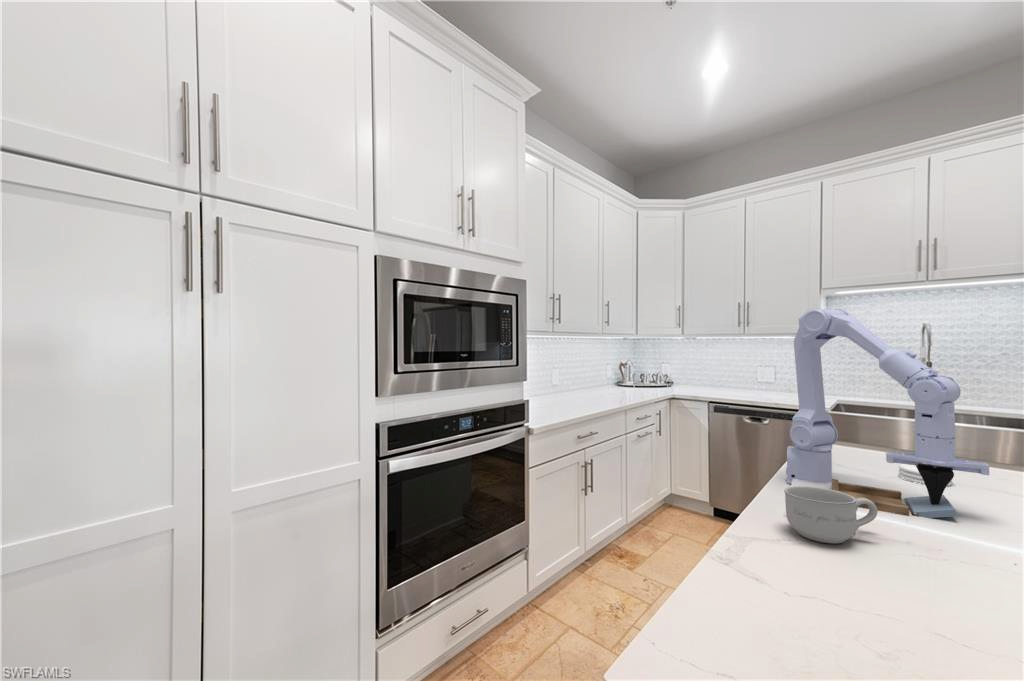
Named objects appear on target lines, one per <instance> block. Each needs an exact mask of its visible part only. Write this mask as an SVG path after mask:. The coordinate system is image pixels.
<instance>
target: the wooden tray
mask: <svg viewBox="0 0 1024 681" xmlns="http://www.w3.org/2000/svg"><path fill="white" fill-rule="evenodd" d="M831 490H835V491H840V492H843V493H846V494H849V495H851V496H853V497H854V498H855V499H857V498H866V499H868V500H870V501H872V502H873V503H874V504H875V506H876V508H877V512H885V513H889V514H890V513H891V514H894V515H901V516H907V517H910V511H909V507H908V506H907V505H904V502H903V501H902V492H901V491H900V490H895V489H886V488H880V487H875V486H868V485H862V484H854V483H850V482H849V483H847V482H842V481H841V482H840V481H839V479H834V478H832V482H831ZM858 508H861V509H866V510H869V507H868V505H867V504H861V505H860V506H858Z"/></svg>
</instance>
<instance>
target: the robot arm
mask: <svg viewBox="0 0 1024 681" xmlns="http://www.w3.org/2000/svg"><path fill="white" fill-rule="evenodd" d="M798 325H799V326H798V329H797V332H796V335H794V336H795V337H794V339H793V349H794V350H793V351H794V361H795V362H794V363H795V364H794V365H795V374H796V385H797V386H796V387H797V397H798V411H796V413H795V414H794V415H793V416H792V424H791V427H790V430H789V436H790V441H792V443H793V444H794V445H795V446H793V445H792V446H791V445H788V446H787V448H786V467H785V474H786V479H787V480H786V483H787V484H790V485H792V483H793V479H796V480H801V481H807V482H811V483H819V484H828V483H829V484H831V483H832V479H833V472H832V470H833V468H832V467H833V457H832V456H833V454H832V450H833V445H834V444H836V442H837V441H838V438H839V433H838V430H837V428H836V427H835V425H834V421H833V417H832V416H831V414H830V413H829V412H828V411H827V410H826V403H825V402H826V401H825V398H826V397H825V390H824V389H825V388H824V377H823V366H822V365H823V363H822V356H821V354H822V353H821V348H822V347H823V346H824V345H825V344H827V343H828V342H829V341H830V340H832V339H834V338H836V337H840V338H841V337H842V338H847V339H848V340H850V341H852V343H854V344H855V345H857V346H858V347H860V348H861V349H863V351H866V352H867V353H868V354H869V355H871V356H873V357H875V358H876V359H877V360H878V367H879V368H880V370H881V371H883V372H884V373H885V374H887V375H888V376H889V377H891V379H893V380H894V381H896V382H897V383H898V384H899V385H900V386H902V387H903V388H904V389H906V390H907V394H908V396H909V398H910V399H911V401H913V403H914V453H906V452H893V451H886V452H885V459H886V463H888V464H895V463H896V464H909V465H916V467H917V469H918V471H919V473H920V475H921V476H922V478H923V481H924V483H925V485H924V486H925V487H926V489H927V494H928V496H929V498H930V503H931V504H932V505H937V504H939V503H940V499H941V496H942V495H944V491H945V490H946V486H947V485H948V483H949V482H950V481H951V480H952V481H953V479H954V477H955V472H954V471H957V472H965V473H966V472H967V473H973V474H980V475H982V476H990V464H988V463H986V462H980V461H972V460H966V459H960V458H956V415H955V414H956V413H955V402H956V401H958V400H959V399H960V397H961V391H962V390H961V387H960V386H959V384H958V382H956V381H955V380H954V378H953V377H950V376H947V375H939V370H937V369H936V368H930V367H929V366H928V365H926V364H924V363H923V362H922V361H920V360H919V359H918V358H917V356H918V354H917V353H915V352H914V351H912V350H911V351H909V350H908V351H907V350H905V349H894V348H893V347H891V346H890V345H888V343H886V342H885V341H884V340H883V339H881V337H879V336H878V335H876V334H875V333H874V332H873V331H872V330H870V328H868V327H866V326H865V325H864V324H862V322H860V320H859V319H858V318H857V317H855V316H853V315H851V314H849V313H848V312H847V311H846V310H843V309H838V308H837V309H830V308H829V309H826V308H820V307H819V308H818V307H814V308H810V309H809V310H807V311H806V312H805V313H803V315H801V317H800V318H799V319H798ZM947 487H948V486H947Z"/></svg>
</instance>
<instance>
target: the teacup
mask: <svg viewBox="0 0 1024 681" xmlns="http://www.w3.org/2000/svg"><path fill="white" fill-rule="evenodd" d="M783 491H784V496H785V497H784V498H785V499H784V501H785V512H786V520H787V522H788V523H789V525H790V526H791V527H792V528H793V529H794V530H795V531H797V533H798V534H800V536H802V537H804V538H806V539H809V540H811V541H814V542H818V543H819V542H820V543H825V544H841V543H845V542H846V541H847V540H849V539H852V538H853V537H854V536H855V534H856V531H857V530H858V529H859V528H860V527H862V526H864V525H867V524H869V523H871V522H872V521H874V520H875V519H876V517H877V516H878V511H877V508H876V506H875V504H874V503H873V502H872V501H870V500H868V499H866V498H857V499H855V498H854V497H853V496H851V495H849V494H846V493H843V492H840V491H835V490H832V488H831V489H829V488H825V487H824V488H823V487H817V486H807V485H806V486H805V485H798V486H797V485H796V486H795V485H793V486H788V487H785V488H784V490H783ZM861 504H867V505H868V507H869V509H868V510H869V511H868V513H867V514H866V515H864V516H863V517H861V518H858V519H857V512H858V508H859V507H858V506H860V505H861Z"/></svg>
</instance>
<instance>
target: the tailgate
mask: <svg viewBox="0 0 1024 681" xmlns="http://www.w3.org/2000/svg"><path fill="white" fill-rule="evenodd" d="M903 501H904V502H905V506H908V507H909V513H910V515H911V516H912V517H920V518H927V519H933V518H934V519H935V518H950V517H951V518H952V517H959V514H958V512H957V510H956V509H955V507H954V506H953V505H952V504H951V502H950V501H949V500H948V499H947V497H946V496H945V495H944V494H942V496H941V499H940V503H939V504H937V505H932V504H931V503H930V498H929V495H925V496H924V495H923V496H912V497H905V498H903Z"/></svg>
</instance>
